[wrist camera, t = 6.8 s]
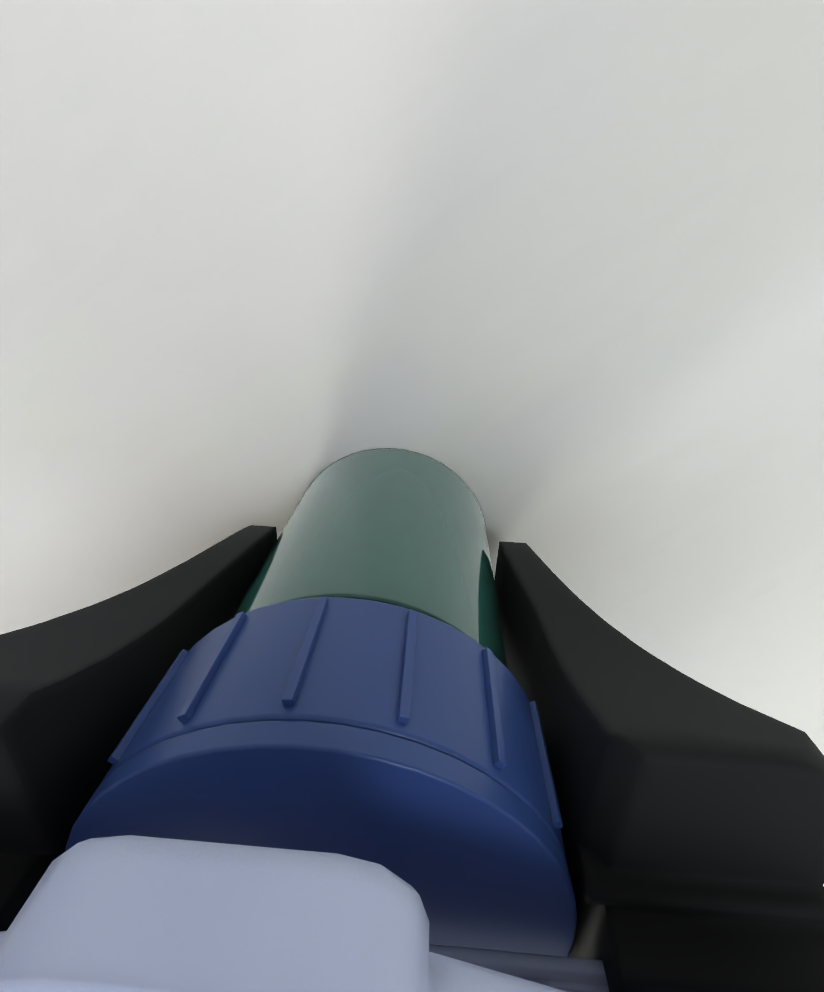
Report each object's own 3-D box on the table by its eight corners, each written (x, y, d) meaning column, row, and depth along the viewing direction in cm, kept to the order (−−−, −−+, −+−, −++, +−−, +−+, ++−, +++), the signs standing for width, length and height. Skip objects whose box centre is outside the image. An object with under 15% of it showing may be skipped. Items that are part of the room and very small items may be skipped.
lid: (332, 897, 9) (301, 1071, 7) (84, 710, 8) (-45, 872, 6) (614, 787, 8) (676, 975, 6) (380, 513, 6) (347, 643, 4)
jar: (259, 531, 14) (48, 843, 6) (390, 405, 12) (309, 634, 5) (390, 641, 15) (341, 1003, 8) (525, 542, 13) (624, 884, 6)
